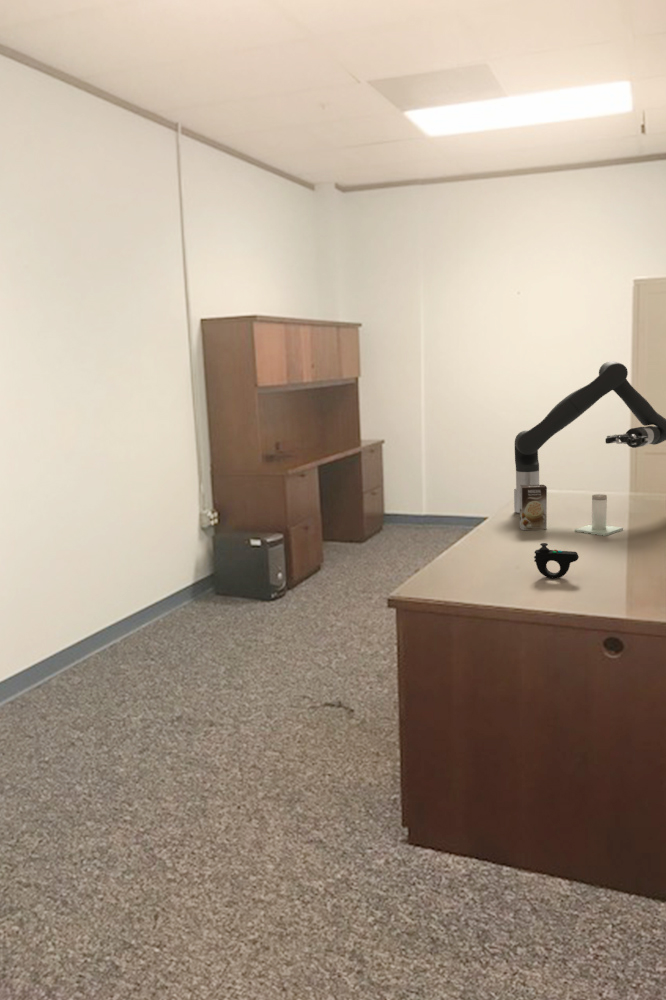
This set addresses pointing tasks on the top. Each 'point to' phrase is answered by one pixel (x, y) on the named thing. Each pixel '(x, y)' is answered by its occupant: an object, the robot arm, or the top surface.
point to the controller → (554, 555)
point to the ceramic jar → (599, 511)
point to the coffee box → (533, 507)
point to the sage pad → (599, 532)
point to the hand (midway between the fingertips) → (616, 441)
